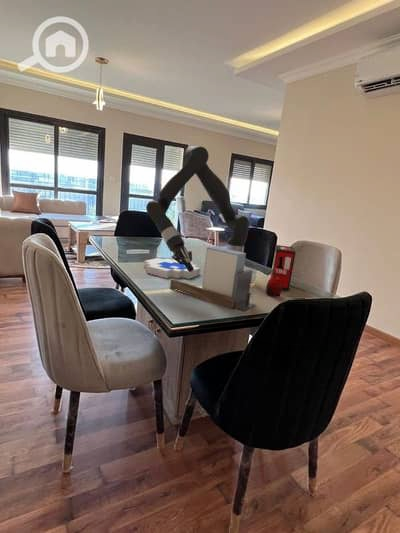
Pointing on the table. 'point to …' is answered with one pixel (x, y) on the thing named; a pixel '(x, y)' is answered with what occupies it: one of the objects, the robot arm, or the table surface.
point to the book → (222, 269)
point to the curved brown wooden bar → (204, 293)
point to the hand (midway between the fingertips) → (191, 270)
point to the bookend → (241, 290)
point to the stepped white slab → (169, 268)
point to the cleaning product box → (283, 265)
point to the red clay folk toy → (274, 286)
